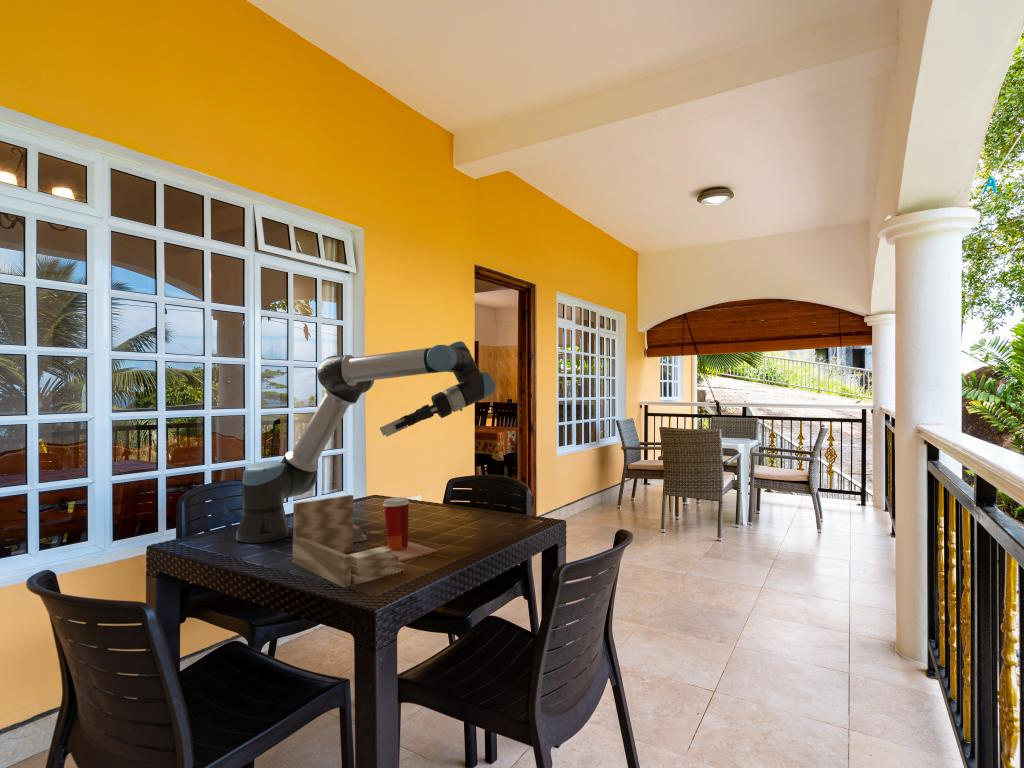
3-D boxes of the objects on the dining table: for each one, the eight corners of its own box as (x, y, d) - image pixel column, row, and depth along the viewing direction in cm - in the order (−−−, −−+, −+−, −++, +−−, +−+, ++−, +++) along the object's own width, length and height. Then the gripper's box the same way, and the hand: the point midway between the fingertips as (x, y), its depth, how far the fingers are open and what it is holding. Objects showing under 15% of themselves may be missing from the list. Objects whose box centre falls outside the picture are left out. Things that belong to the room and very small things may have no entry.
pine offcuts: (392, 567, 142) (392, 544, 142) (404, 571, 138) (404, 548, 138) (343, 580, 132) (343, 555, 132) (355, 585, 128) (355, 560, 128)
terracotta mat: (407, 543, 165) (407, 541, 165) (436, 552, 156) (436, 550, 156) (367, 552, 155) (367, 550, 155) (395, 562, 146) (395, 560, 146)
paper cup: (405, 542, 163) (403, 495, 164) (415, 547, 157) (413, 499, 157) (380, 547, 159) (378, 499, 159) (390, 552, 152) (387, 503, 153)
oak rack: (350, 549, 158) (350, 494, 158) (405, 570, 139) (405, 508, 139) (292, 562, 146) (293, 503, 146) (344, 587, 127) (344, 519, 127)
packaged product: (368, 526, 169) (335, 530, 164) (368, 541, 169) (335, 546, 163) (352, 515, 184) (321, 518, 179) (352, 529, 184) (321, 533, 179)
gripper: (461, 412, 154) (391, 445, 148) (445, 414, 178) (385, 442, 171) (450, 388, 153) (380, 420, 147) (435, 393, 177) (375, 420, 171)
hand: (382, 432), depth 159 cm, fingers open, 13 cm apart
